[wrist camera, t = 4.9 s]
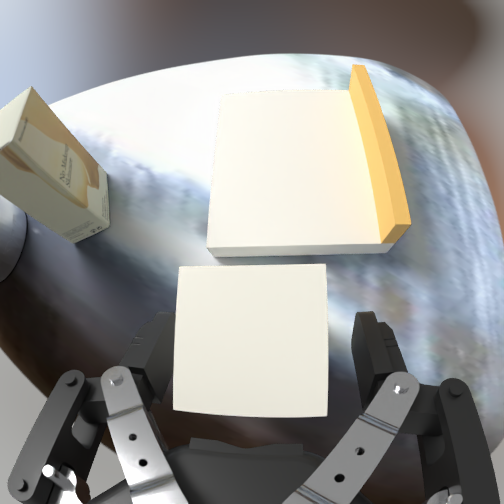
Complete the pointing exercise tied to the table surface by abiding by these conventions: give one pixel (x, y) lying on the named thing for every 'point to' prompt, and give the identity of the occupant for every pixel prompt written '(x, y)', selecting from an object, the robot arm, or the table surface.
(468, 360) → the table surface
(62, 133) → the skincare box
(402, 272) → the table surface
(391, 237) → the shelf board
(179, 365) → the product carton
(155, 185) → the table surface
